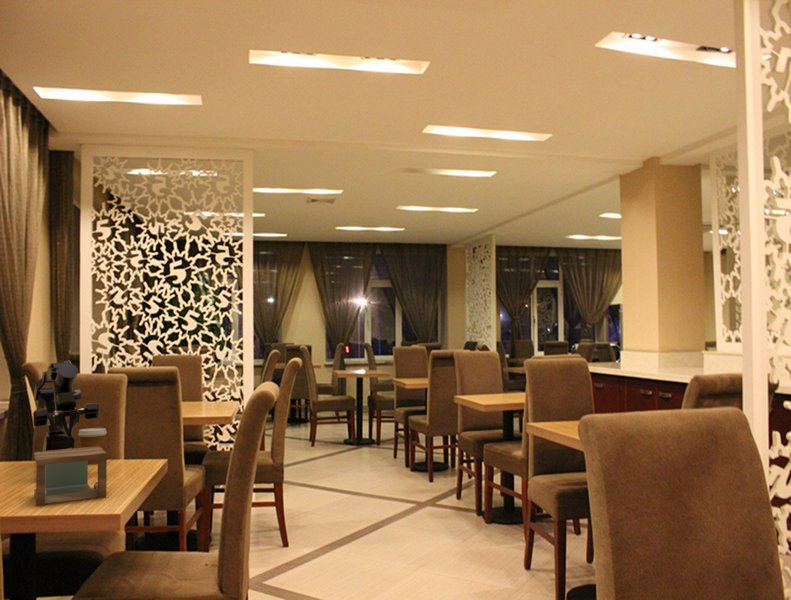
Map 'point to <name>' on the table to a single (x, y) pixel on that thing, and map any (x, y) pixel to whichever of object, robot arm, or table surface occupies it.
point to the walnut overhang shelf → (67, 457)
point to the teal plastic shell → (66, 477)
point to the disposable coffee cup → (92, 439)
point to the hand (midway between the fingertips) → (69, 437)
